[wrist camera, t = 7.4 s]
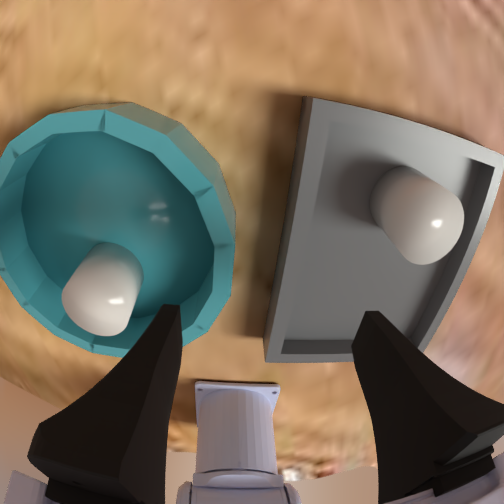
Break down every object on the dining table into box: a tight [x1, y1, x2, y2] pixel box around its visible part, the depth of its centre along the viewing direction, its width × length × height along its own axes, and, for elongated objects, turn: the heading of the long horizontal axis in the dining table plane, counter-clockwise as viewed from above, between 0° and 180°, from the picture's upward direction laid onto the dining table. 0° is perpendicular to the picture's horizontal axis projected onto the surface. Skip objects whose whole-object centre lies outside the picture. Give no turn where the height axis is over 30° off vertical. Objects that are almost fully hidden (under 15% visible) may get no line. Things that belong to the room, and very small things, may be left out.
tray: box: [263, 96, 504, 363], centre depth 20 cm, size 18×14×2 cm
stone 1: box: [62, 243, 144, 336], centre depth 18 cm, size 4×4×4 cm
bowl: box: [0, 102, 236, 358], centre depth 17 cm, size 16×16×4 cm
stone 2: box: [370, 166, 464, 265], centre depth 16 cm, size 4×4×4 cm
